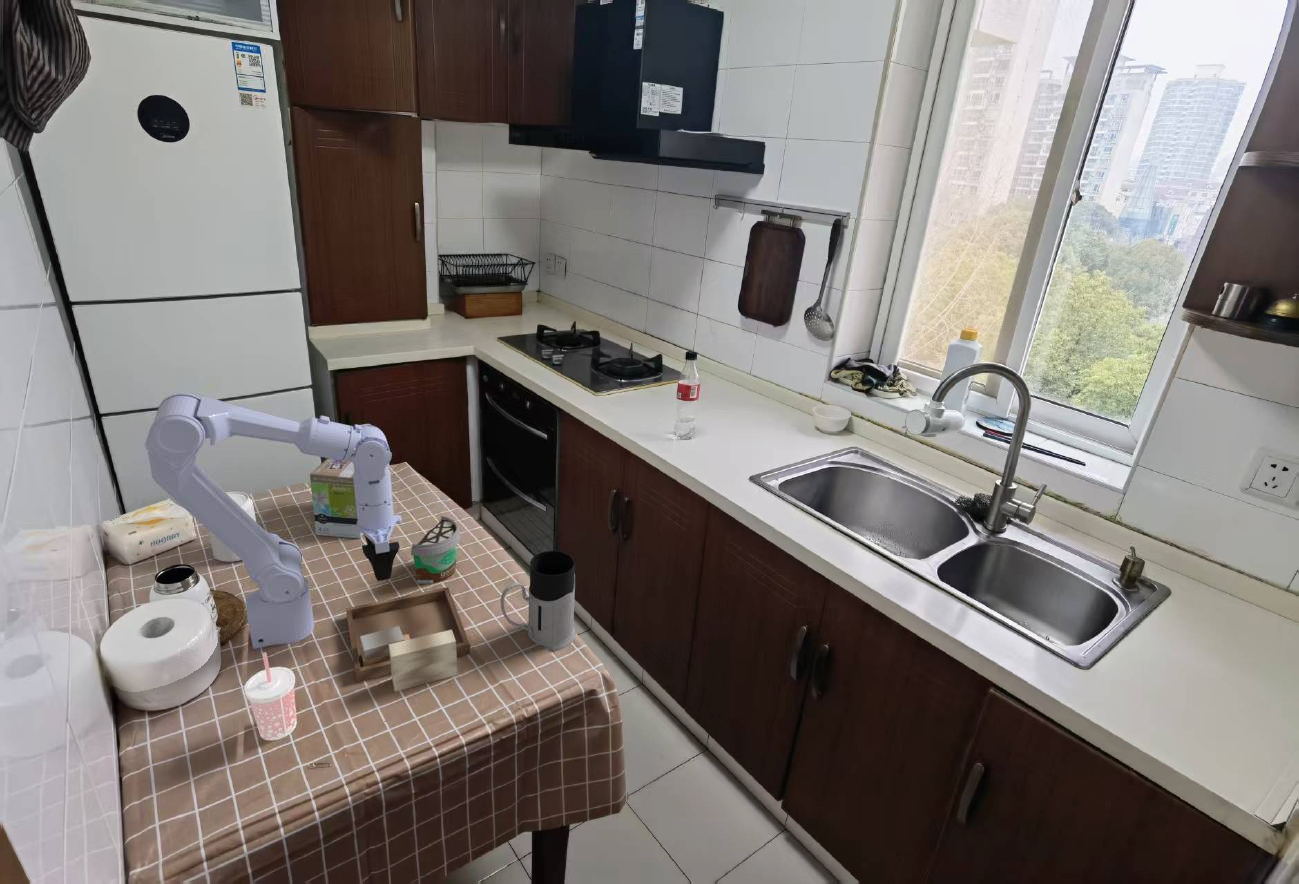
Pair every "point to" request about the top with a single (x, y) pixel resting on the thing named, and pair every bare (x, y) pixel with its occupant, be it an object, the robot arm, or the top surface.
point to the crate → (404, 624)
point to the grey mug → (549, 600)
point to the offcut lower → (379, 659)
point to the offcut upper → (380, 642)
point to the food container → (437, 552)
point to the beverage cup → (273, 701)
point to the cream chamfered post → (423, 660)
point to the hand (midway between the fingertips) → (380, 566)
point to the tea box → (334, 499)
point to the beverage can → (218, 546)
